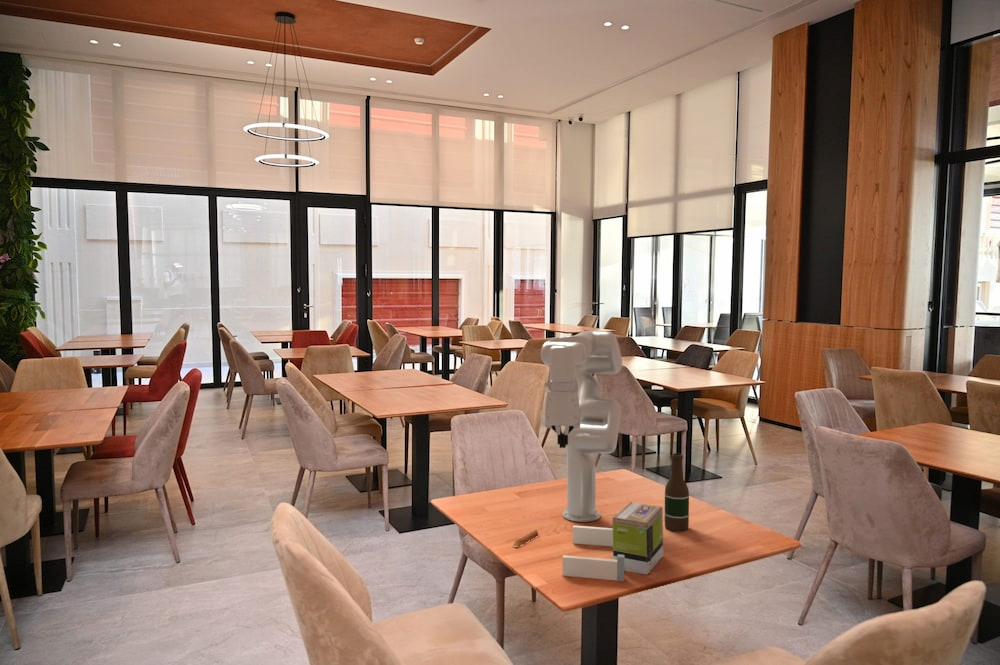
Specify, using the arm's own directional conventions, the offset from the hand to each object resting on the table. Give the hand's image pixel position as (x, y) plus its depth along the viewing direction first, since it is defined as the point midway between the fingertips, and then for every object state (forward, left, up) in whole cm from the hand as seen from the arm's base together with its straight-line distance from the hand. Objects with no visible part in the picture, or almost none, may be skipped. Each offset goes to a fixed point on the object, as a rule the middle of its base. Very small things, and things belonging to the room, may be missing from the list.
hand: (562, 446), depth 201 cm
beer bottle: (-20, +34, -30) cm, 49 cm away
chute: (+11, +11, -29) cm, 33 cm away
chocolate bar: (+1, -11, -30) cm, 32 cm away
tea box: (+10, +23, -30) cm, 39 cm away
